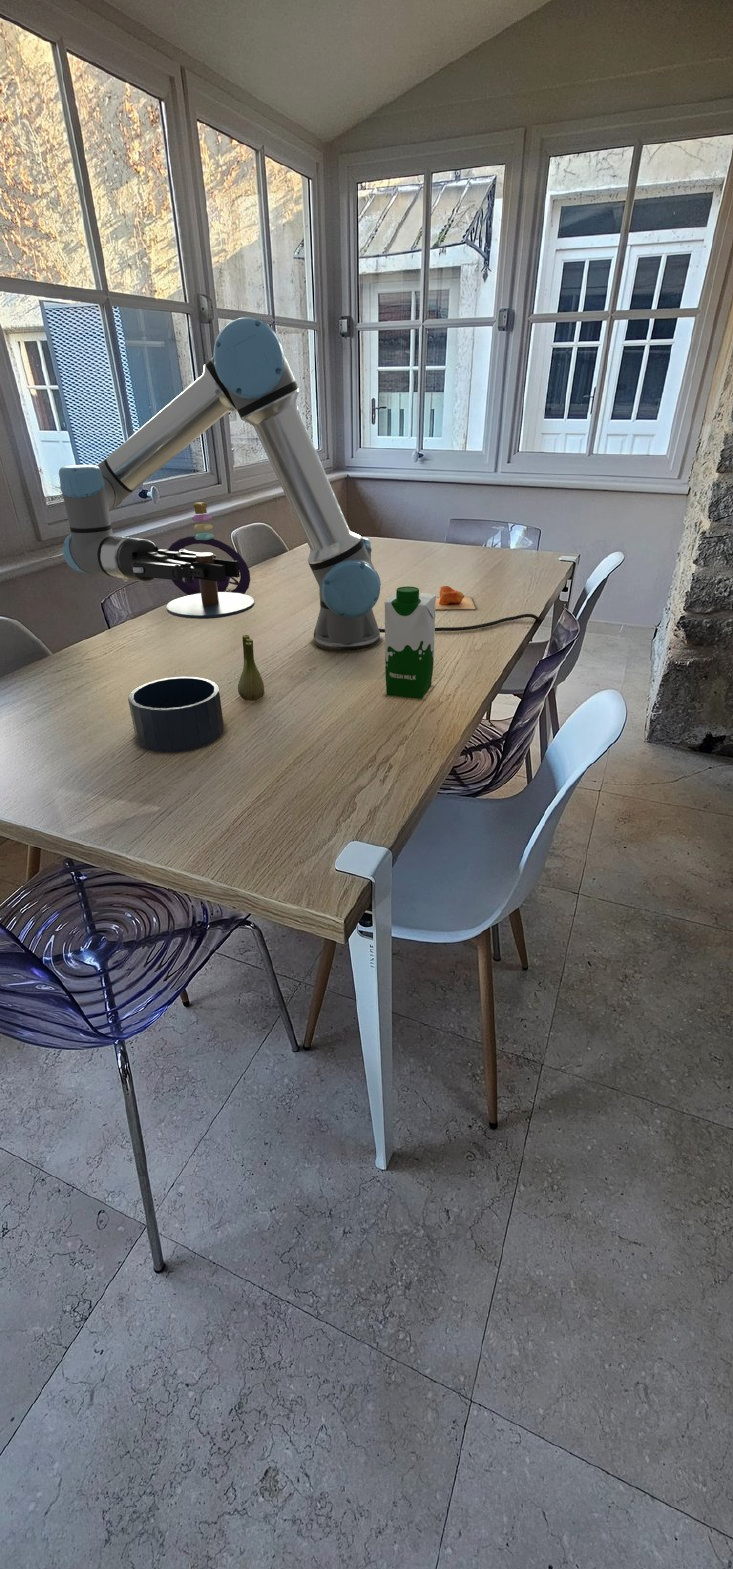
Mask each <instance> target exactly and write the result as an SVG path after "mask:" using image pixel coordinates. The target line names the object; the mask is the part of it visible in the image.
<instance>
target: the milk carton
mask: <svg viewBox="0 0 733 1569" xmlns="http://www.w3.org/2000/svg"><path fill="white" fill-rule="evenodd" d="M436 598H437V594H434V593H420V588H419V587H416V586H400V587H397V588H396V592H395V593H394V594H391V595H390V596H389V597H388V598H387V599H386V600H385V601H383V602H384V603H383V604H384V629H385V633H384V678H385V690H386V694H385V695H386V696H389V697H397V698H404V699H405V698H406V699H415V700H423V699H424V697H425V696H426V694H427V693H428V692H429V690H430V689H431V687H432V682H433V673H434V664H435V662H434V661H435V639H436V638H435V637H436V631H435V628H436V609H435V602H436Z"/></svg>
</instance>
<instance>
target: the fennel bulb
mask: <svg viewBox="0 0 733 1569" xmlns="http://www.w3.org/2000/svg"><path fill="white" fill-rule="evenodd" d="M242 651H243V652H242V653H243V666H242V671H241V674H240V676H239V679H238V684H237V691H238V695H239V696H240V698H241V699H242V700H244V701H246V702H256V701H258V700H260V699H262V698H263V697H264V696H265V684H264V680H263V678H262V675H261V673H260V671H259V670H260V669H259V668H258V667H257V664H256V662H255V655H254V654H255V653H254V640H253V639H252V638H250V635H248V634H243V635H242Z"/></svg>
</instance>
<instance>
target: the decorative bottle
mask: <svg viewBox="0 0 733 1569" xmlns="http://www.w3.org/2000/svg"><path fill="white" fill-rule="evenodd" d="M207 507H208V504H207V502H203V501H202V502H194V503H193V508H194V513H195V514H194V515H193V517H192V518H191V520H192V521H193V522H206V521H211V520H212V519H213V517H212V516H211V515H210V514H208V511H207ZM213 528H214V526H213V525H212V524H209V523H196V524H195V525H194V526H193V527H192V529H193V530H194V531H196V532H197V531H198V533H196V535H188V536H185V537H182V538H179V539H177V540H176V541H174V542H173V543H172V544H171V545H170V546H169V547H168V548H167V550H168V551H172V552H179V550H180V549H185V548H186V547H189V546H192V545H207V546H211V547H214V548H218V549H219V550H221V551H223V552H224V553H226V555H227V556H229V557H231V558H232V560H234V561H238V564H239V574H240V577H239V581H238V579H236V577H228V576H226V582H217V589H218V592H226V590H227V588H228V587H229V585H231V584H232V585H235V586H236V587H235V588H234V589H232V590H231V591H230V592H232V593H240V594H245V595H246V593H247V591H248V590H249V588H250V584H251V571H250V568H249V567H248V564H247V562H246V561H245V559H244V558H243V557H242V555H241V554H240V553H239V552H238V551H237V550H235V549H234V548H233V547H232V546H230V545H228V544H227V543H225V542H223V541H221V540H219V539H217V538H214V537H215V535H214V534H213V533H211V532H210V533H209V532H206V531H208V530H209V531H210V530H213ZM202 531H203V532H202ZM199 532H200V533H199ZM215 555H217V552H216V553H215ZM231 580H232V581H231ZM171 582H172V583H173V584H174V585H175V586H176V587H177V588H178V589H179V590H180V591H181V592H183V593H184V594H186V596H188V595H193V594H200V593H201V591H200V584H199V579H195V578H194V576H193V582H192V583H187V578H184V580H181V581H178V580H171Z"/></svg>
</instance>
